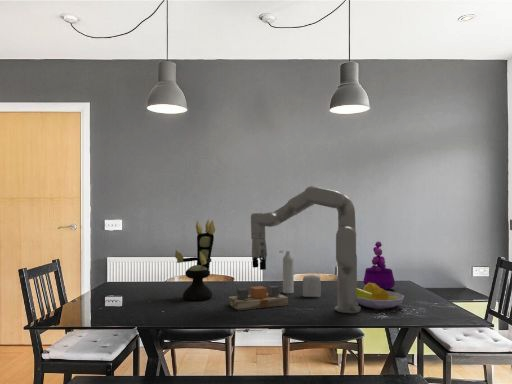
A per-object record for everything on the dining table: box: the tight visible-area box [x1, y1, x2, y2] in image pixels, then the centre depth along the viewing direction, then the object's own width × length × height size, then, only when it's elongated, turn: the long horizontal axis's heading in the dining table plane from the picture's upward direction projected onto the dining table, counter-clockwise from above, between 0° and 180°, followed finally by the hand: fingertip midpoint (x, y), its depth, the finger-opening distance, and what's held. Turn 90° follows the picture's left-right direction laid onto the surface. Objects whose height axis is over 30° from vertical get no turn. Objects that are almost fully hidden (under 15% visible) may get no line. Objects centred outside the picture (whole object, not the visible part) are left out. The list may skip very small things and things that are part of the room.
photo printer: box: [302, 274, 322, 298], centre depth 233 cm, size 10×4×12 cm, turn 84°
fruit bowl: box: [357, 282, 405, 310], centre depth 211 cm, size 28×27×11 cm
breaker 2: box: [267, 285, 280, 297], centre depth 217 cm, size 4×4×6 cm
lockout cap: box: [249, 285, 268, 299], centre depth 214 cm, size 7×7×5 cm
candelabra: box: [174, 218, 216, 302], centre depth 232 cm, size 19×22×45 cm
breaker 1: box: [236, 288, 249, 300], centre depth 210 cm, size 4×4×6 cm
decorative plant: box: [363, 241, 396, 291], centre depth 252 cm, size 19×18×30 cm
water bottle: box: [279, 250, 295, 294], centre depth 244 cm, size 9×6×25 cm
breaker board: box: [228, 292, 289, 311], centre depth 213 cm, size 15×28×5 cm, turn 113°
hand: (259, 268), depth 214 cm, fingers open, 9 cm apart
